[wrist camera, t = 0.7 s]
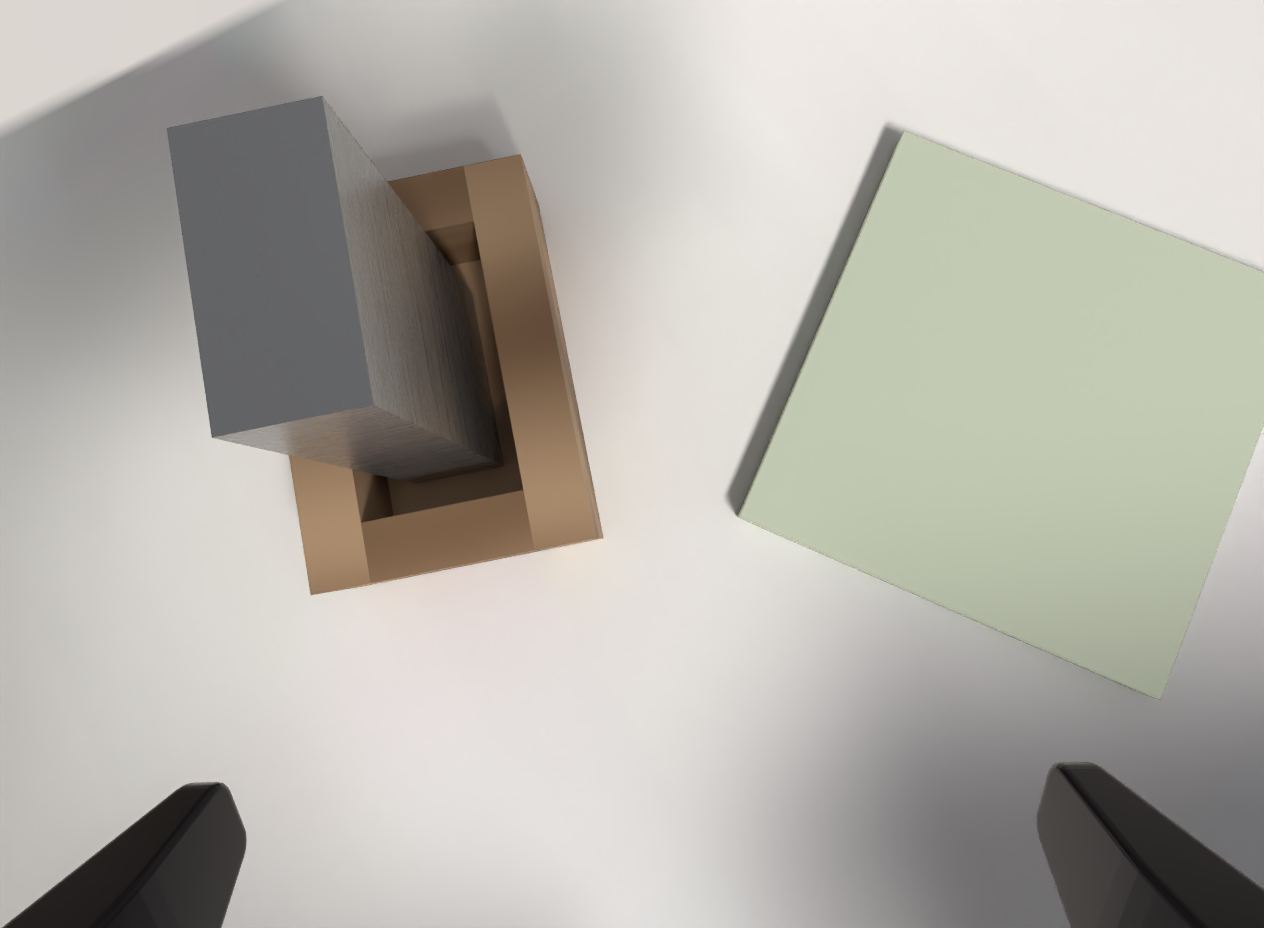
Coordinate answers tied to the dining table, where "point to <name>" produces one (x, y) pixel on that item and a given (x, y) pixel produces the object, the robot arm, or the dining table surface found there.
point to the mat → (1024, 413)
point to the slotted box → (522, 399)
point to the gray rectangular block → (326, 302)
